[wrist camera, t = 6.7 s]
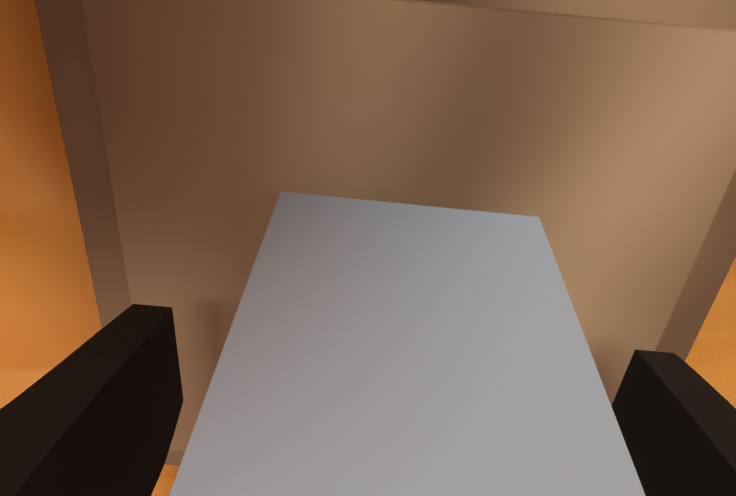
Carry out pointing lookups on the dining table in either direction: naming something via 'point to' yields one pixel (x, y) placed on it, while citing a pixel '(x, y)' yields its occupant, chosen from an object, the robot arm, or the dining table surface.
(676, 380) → the robot arm
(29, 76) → the dining table surface
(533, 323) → the block
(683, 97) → the plinth
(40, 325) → the dining table surface
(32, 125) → the dining table surface
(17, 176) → the dining table surface
